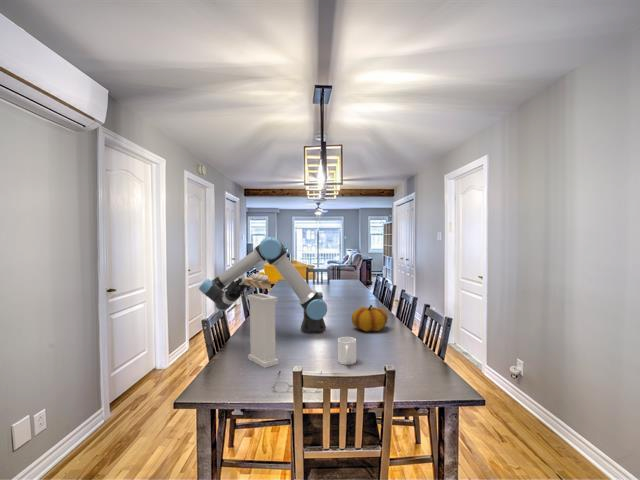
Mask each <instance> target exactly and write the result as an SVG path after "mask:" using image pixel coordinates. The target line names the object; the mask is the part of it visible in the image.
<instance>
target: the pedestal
mask: <svg viewBox="0 0 640 480" xmlns="http://www.w3.org/2000/svg"><path fill="white" fill-rule="evenodd" d="M246 299H247V300H249V327H250V328H249V330H250V331H249V335H250V338H249V339H250V342H249V343H250V353H249V354H248V356H247V357H248V360H250V361H251V362H253V363H255V364H257V365H259V366H260V367H262V368H264V369H266V368H269V367H273V366H276V365H279V359H278V358H277V357H276V355H277V354H276V346H277V345H276V303H278V296H274V295H269V294H265V293H262V292H260V293H253V294H247V298H246Z"/></svg>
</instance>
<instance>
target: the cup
mask: <svg viewBox="0 0 640 480" xmlns="http://www.w3.org/2000/svg"><path fill="white" fill-rule="evenodd" d="M337 362H338V363H339V364H340V365H345V366H350V365H353V364H356V362H357V339H356V338H355V337H351V336H342V337H338V338H337Z"/></svg>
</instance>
